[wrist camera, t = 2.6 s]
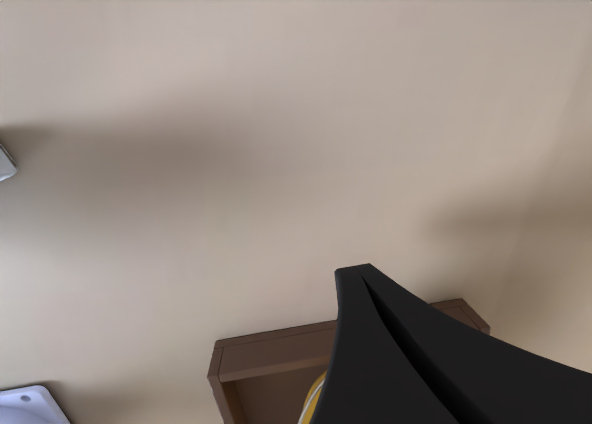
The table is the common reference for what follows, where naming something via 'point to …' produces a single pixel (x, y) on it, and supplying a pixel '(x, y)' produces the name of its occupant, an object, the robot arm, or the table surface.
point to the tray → (285, 368)
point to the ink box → (6, 164)
